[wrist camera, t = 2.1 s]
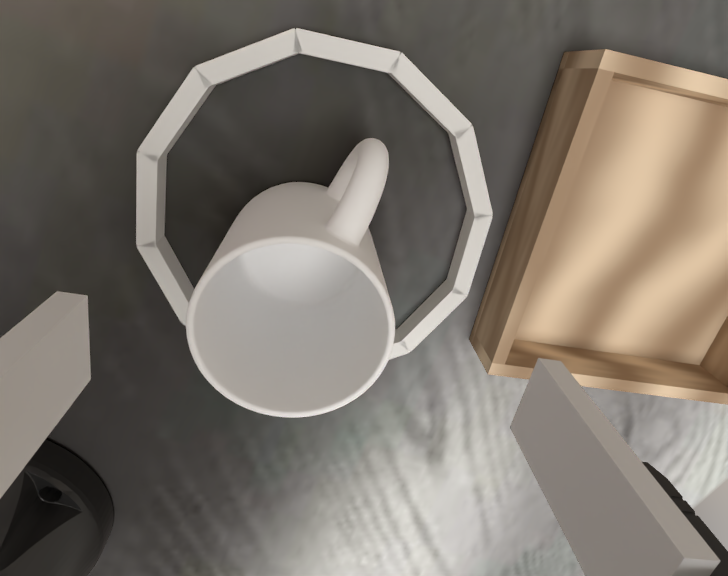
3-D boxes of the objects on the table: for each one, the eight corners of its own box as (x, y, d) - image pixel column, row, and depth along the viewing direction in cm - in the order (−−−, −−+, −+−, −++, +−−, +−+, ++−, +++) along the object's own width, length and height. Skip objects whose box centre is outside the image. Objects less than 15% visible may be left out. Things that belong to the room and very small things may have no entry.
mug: (304, 85, 25) (292, 96, 15) (433, 168, 27) (492, 220, 18) (208, 272, 28) (152, 371, 19) (328, 330, 31) (331, 444, 21)
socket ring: (144, 340, 30) (135, 354, 28) (149, -4, 22) (137, -9, 21) (432, 375, 33) (437, 390, 31) (522, 81, 25) (535, 82, 24)
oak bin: (469, 339, 32) (487, 374, 28) (564, 52, 25) (605, 49, 21) (697, 370, 34) (742, 406, 31) (841, 119, 28) (920, 126, 24)
